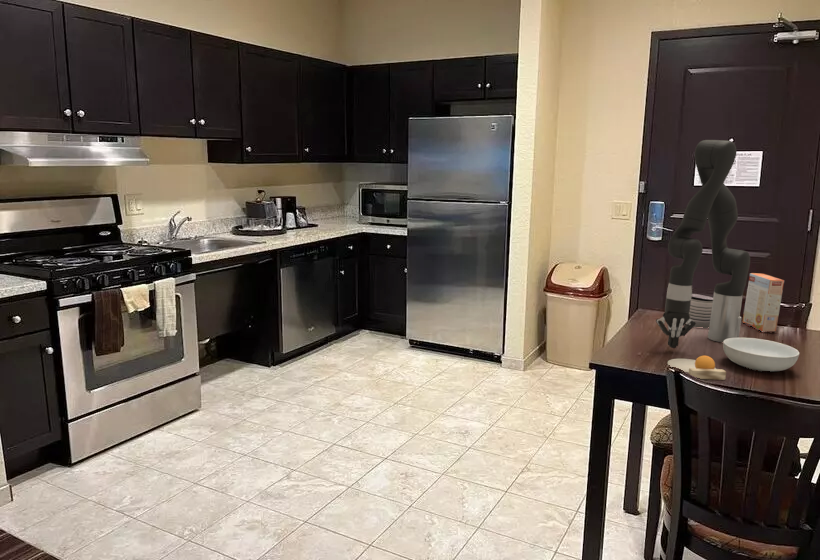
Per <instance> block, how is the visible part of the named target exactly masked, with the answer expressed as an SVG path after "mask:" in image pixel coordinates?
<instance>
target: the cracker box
mask: <svg viewBox="0 0 820 560" xmlns="http://www.w3.org/2000/svg"><path fill="white" fill-rule="evenodd" d="M748 277H749V278H748V284H747V289H746V297H745V303H744V308H743V314H742V316H743V317H742V320H741V323H742V322H743V323H747V324H750V325H752V326H753V327H755V328H757V329H759V330H761V331H776V332H777V327H778V321H779V314H780V309H781V304H782V303H781V302H782V296H783V290H784V284H785V280H784V279H781V278H778V277H775V276H772V275H769V274H766V273H756V272H751V273H749V275H748ZM743 323H742V324H743Z"/></svg>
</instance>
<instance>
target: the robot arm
mask: <svg viewBox="0 0 820 560" xmlns="http://www.w3.org/2000/svg"><path fill="white" fill-rule="evenodd" d="M694 149H695V150H694V163H695V166H696V171H697V172H698V173H697V174H698V176H699V177H698V178H699V180H700V183H701V188H700V189H699V190H697V192H696V193H695V194H694V195H693V196H692V198H690V200H689V201H688V203H687V205H686V208H685V211H684V214H683V216H682V220H681V222H680V224H679V225H678V226H677V228H676V230H675V231H674V233H673V234H672V236H671V237H670V239H669V241H668V245H667V251H668V253H669V255H670V256H671V257H673V258H675V259H683V260H682V262H681V264H677V265H674V266H671V268H670V272H669V281H668V287H667V289H666V291H667V292H666V297H665V298H666V299H665V306H664V313H663V314H662V316H661V317H660V318H657V319H655V322H656V324H657V325H658V326H659V328H660V330H661V331H662V333H663V334H665V335H666V336H668V341H667V345H668V346H669V348H671V349H677V347H678V346H679V340H680V337H682V336H683V337H684V336H686V335H687V334H688V333H689V332H690V331H691V330H692V329H693V328H694V326H695V324H696V323H695V322H694V321H692V320H691V319H690V316H689V311H690V304H691V298H692V294H693V281H694V280H693V279H694V273H695V271H696V270H697V267H698V264H699V262H700V259H701V257H702V255H703V249H704V248H703V244H702V242H701V241H700V240H699V239H698V238H691V236H692V235H693V234H695V233H701V232H703V231H704V229H705V227H706V224H707V223H708V226H709V233H710V234H709V235H710V241H711V256H712V259H711V261H712V267H713V270H715V272H716V273H719V274H723V275H729V276H731V278H730V280H729V281H726V282H720V283H716V284H715V285H714V290H713V296H712V297H713V303H712V310H711V317H710V325H709V328H708V331H707V339H709V340H710V341H712V342H713V341H714V342H718V343H722V342H723V341H724V340H725V339H728V338H740V330H741V326H742V325H741V323H742V320H743V317H742V316H741V310H742V303H743V296H744V291H745V288H746V285H747V279H748V276H749V270H750V265H751V255H750V253H749V252H748V251H746V250H743V249H735V248H729V247H728V245H727V238H728V236H729V234H730V233H731V231H732V229H733V228H734V227H735V225H736V223H737V221H738V217H739V215H738V206H737V201H736V198H735V196H734V194H733V193H732V192H731V190H730V189H729V187H727V185H725V181H726V179H727V177H728V175H729V174H730V171H731V170H732V167H733V165H734V162H735V161H736V157H737V147H736V143H734V141H732V140H723V139H721V140H719V139H705V140H704V139H703V140H701V141H699V142H698V143H697V145H696V147H695V148H694ZM685 323H686V325H685ZM665 324H667V327H666V325H665Z"/></svg>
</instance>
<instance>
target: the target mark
mask: <svg viewBox="0 0 820 560" xmlns="http://www.w3.org/2000/svg"><path fill="white" fill-rule="evenodd" d="M695 361H696V359H689V358H672V359H669V360H668V361H667V366H669V365H670V366H669V367H671V368H672V367H676V368H679V369H681V370H683V371H684V372H683V371H682V372H683V373H688V374H689V368H696V367H695ZM714 369H717V368H716V367H715V368H714Z"/></svg>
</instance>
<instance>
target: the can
mask: <svg viewBox="0 0 820 560" xmlns="http://www.w3.org/2000/svg"><path fill="white" fill-rule="evenodd" d="M712 303H713V296H708V295H704V294H703V295H702V294H699V293H698V294H697V293H692V298H691V304H690V311H689V316H690V319H691V320H692V321H694V322H695V323H696V324H695V326H694V327H703V328H708V327H709V325H710V317H711V310H712ZM685 324H686V323H685ZM685 324H684V325H685ZM694 327H693V328H694ZM708 329H709V328H708Z"/></svg>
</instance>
